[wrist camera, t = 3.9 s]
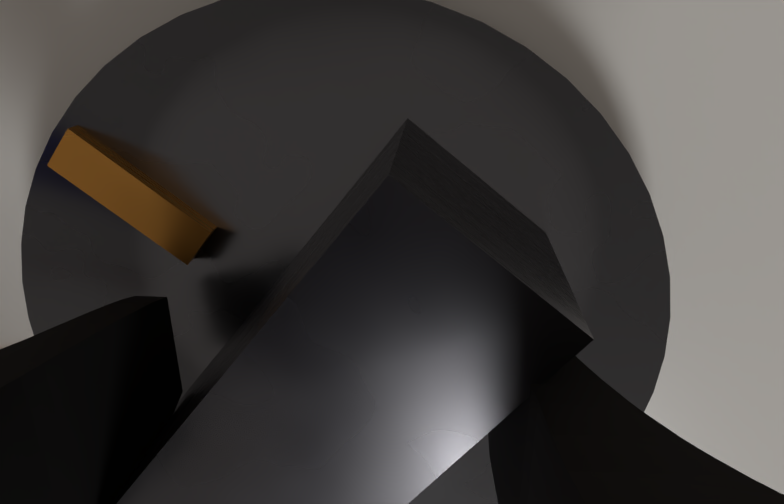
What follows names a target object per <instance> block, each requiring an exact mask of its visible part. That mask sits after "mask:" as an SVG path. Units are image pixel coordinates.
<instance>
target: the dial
mask: <svg viewBox="0 0 784 504" xmlns="http://www.w3.org/2000/svg"><path fill="white" fill-rule="evenodd" d="M21 260H22V284H23V290H24V295H25V301H26V307H27V313H28V318H29V322H30V325H31V328H32V331H33V334H34V335H36V334H39V333H41V332H43V331H46V330H48V329H50V328H53V327H55V326H57V325H60V324H62V323H64V322H67V321H69V320H71V319H74V318H76V317H79V316H81V315H83V314H86V313H88V312H90V311H93V310H95V309H98V308H100V307H103V306H105V305H108V304H111V303H113V302H116V301H119V300H122V299H125V298H129V297H132V296H156V297H167V299H168V305H169V311H170V317H171V323H172V329H173V335H174V341H175V347H176V353H177V359H178V365H179V372H180V378H181V384H182V390H183V392H182V394H181V397H180V399H179V401H178V404H177V406H176V409H175V411H174V413H173V415H172V416H171V418H170V419H169V421H168V422H167V424H166V425H165V427H164V428H163V430H162V431H161V433H160V434H159V436H158V437H157V439H156V440H155V442H154V443H153V445H152V446H151V447H150V449H149V450H148V452H147V453H146V455H145V456H144V458H143V459H142V461H141V462H140V464H139V465H138V466H137V468H136V469H135V471H134V472H133V474H132V475H131V477H130V478H129V480H128V481H127V482H126V484H125V485H124V487H123V488H122V490H121V491H120V493H119V494H118V496H117V497H116V499H115V500H114V501H113V503H112V504H498V500H497V495H496V489H495V484H494V478H493V473H492V467H491V462H490V456H489V441H488V433H489V432H490V431H491V430H492V429H493V428H494V427H496V426H497V425H498V424H499V423H500V422H501V421H502V420H503V419H505V418H506V417H507V416H508V415H509V414H510V413H511V412H513V411H514V410H515V409H516V408H517V407H518V406H519V405H520V404H522V403H523V402H524V401H525V400H526V399H527V398H528V397H529V396H530V387H531V384H544V383H545V382H546V381H548V380H549V379H550V378H551V377H552V376H553V375H554V374H556V373H557V372H558V371H559V370H560V369H561V368H562V367H563V366H565V365H566V364H567V363H568V362H569V361H570V360H571V359H573V358H574V357H575V356H576V357H577V358H578V359H579V360H581V361H582V362H583V363H584V364H585V365H586V366H587V367H588V368H589V369H591V370H592V371H593V372H594V373H595V374H596V375H597V376H599V377H600V378H601V379H602V380H603V381H604V382H606V383H607V384H608V385H609V386H611V387H612V388H613V389H614V390H616V391H617V392H618V393H619V394H621V395H622V396H623V397H624V398H626V399H627V400H628V401H629V402H631V403H632V404H633V405H635V406H636V407H637V408H639V409H640V410H641V411H643V412H644V411H645V409H646V407H647V405H648V403H649V401H650V399H651V397H652V395H653V392H654V389H655V386H656V383H657V380H658V376H659V373H660V370H661V367H662V363H663V360H664V357H665V351H666V344H667V337H668V330H669V324H670V274H669V267H668V261H667V255H666V249H665V243H664V237H663V233H662V230H661V227H660V224H659V221H658V218H657V215H656V212H655V209H654V206H653V203H652V200H651V197H650V194H649V192H648V190H647V188H646V186H645V184H644V182H643V180H642V178H641V176H640V174H639V172H638V170H637V168H636V166H635V164H634V162H633V160H632V158H631V156H630V154H629V152H628V151H627V150H626V148H625V147H624V145H623V144H622V143H621V141H620V140H619V138H618V137H617V136H616V134H615V133H614V131H613V130H612V129H611V127H610V126H609V124H608V123H607V122H606V120H605V119H604V117H603V116H602V115H601V113H600V112H599V111H598V110H597V109H596V108H595V107H594V106H593V105H592V104H591V103H590V102H589V101H588V100H587V99H586V98H585V97H584V96H583V95H582V94H581V93H580V92H579V91H578V90H577V89H576V87H575V86H574V85H573V84H572V83H571V82H570V81H569V80H568V79H567V78H566V77H564V76H563V75H562V74H560V73H559V72H558V71H557V70H555V69H554V68H553V67H551V66H550V65H549V64H548V63H546V62H545V61H544V60H542V59H541V58H540V57H539V56H537V55H536V54H535V53H533V52H532V51H531V50H529V49H528V48H527V47H525V46H524V45H522V44H520V43H518V42H516V41H515V40H513V39H511V38H509V37H508V36H506V35H504V34H502V33H501V32H499V31H497V30H495V29H494V28H492V27H490V26H488V25H487V24H485V23H483V22H481V21H479V20H476V19H474V18H471V17H469V16H466V15H464V14H461V13H459V12H456V11H453V10H451V9H448V8H446V7H443V6H441V5H438V4H436V3H433V2H430V1H426V0H220V1H217V2H214V3H211V4H209V5H206V6H203V7H201V8H198V9H195V10H193V11H190V12H187V13H184V14H182V15H180V16H178V17H176V18H174V19H172V20H171V21H169V22H167V23H165V24H163V25H162V26H160V27H158V28H156V29H154V30H153V31H151V32H149V33H147V34H146V35H144V36H142V37H140V38H139V39H138V40H136V41H135V42H134V43H132V44H131V45H130V46H129V47H127V48H126V49H125V50H124V51H122V52H121V53H120V54H118V55H117V56H116V57H115V58H113V59H112V60H111V61H110V62H108V63H107V64H106V65H104V67H103V68H102V69H101V70H100V71H99V72H98V73H97V74H96V75H95V76H94V77H93V78H92V80H91V81H90V82H89V83H88V84H87V85H86V86H85V87H84V88H83V89H82V90H81V91H80V93H79V94H78V95H77V96H76V97H75V98H74V100H73V101H72V103H71V104H70V106H69V107H68V109H67V110H66V112H65V113H64V115H63V116H62V118H61V120H60V121H59V123H58V124H57V126H56V127H55V129H54V130H53V132H52V134H51V136H50V138H49V140H48V143H47V145H46V147H45V149H44V151H43V154H42V156H41V158H40V160H39V162H38V165H37V167H36V169H35V173H34V177H33V180H32V184H31V188H30V191H29V195H28V199H27V202H26V206H25V214H24V223H23V231H22V240H21Z"/></svg>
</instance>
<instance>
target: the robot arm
mask: <svg viewBox="0 0 784 504" xmlns="http://www.w3.org/2000/svg"><path fill="white" fill-rule="evenodd" d="M182 392H183V390H182V384H181V378H180V372H179V365H178V359H177V353H176V347H175V341H174V335H173V329H172V323H171V317H170V311H169V305H168V299H167V297H156V296H132V297H129V298H125V299H122V300H119V301H116V302H113V303H111V304H108V305H105V306H103V307H100V308H98V309H95V310H93V311H90V312H88V313H86V314H83V315H81V316H79V317H76V318H74V319H71V320H69V321H67V322H64V323H62V324H60V325H57V326H55V327H53V328H50V329H48V330H46V331H43V332H41V333H39V334H36V335H34V336H32V337H29V338H27V339H25V340H22V341H20V342H17V343H15V344H12V345H10V346H7V347H5V348H2V349H0V504H112V503H113V501H114V500H115V499H116V497H117V496H118V494H119V493H120V491H121V490H122V488H123V487H124V485H125V484H126V482H127V481H128V480H129V478H130V477H131V475H132V474H133V472H134V471H135V469H136V468H137V466H138V465H139V464H140V462H141V461H142V459H143V458H144V456H145V455H146V453H147V452H148V450H149V449H150V447H151V446H152V445H153V443H154V442H155V440H156V439H157V437H158V436H159V434H160V433H161V431H162V430H163V428H164V427H165V425H166V424H167V422H168V421H169V419H170V418H171V416H172V415H173V413H174V411H175V409H176V406H177V404H178V401H179V399H180V397H181V394H182ZM488 441H489V456H490V462H491V467H492V473H493V478H494V484H495V489H496V495H497V500H498V504H784V495H783V494H781V493H779V492H777V491H775V490H774V489H772V488H770V487H768V486H766V485H764V484H762V483H760V482H758V481H756V480H754V479H752V478H750V477H748V476H746V475H745V474H743V473H741V472H739V471H738V470H736V469H734V468H732V467H730V466H729V465H727V464H725V463H723V462H722V461H720V460H718V459H716V458H714V457H713V456H711V455H709V454H707V453H706V452H704V451H702V450H701V449H699V448H697V447H696V446H694V445H692V444H691V443H689V442H687V441H686V440H684V439H683V438H681V437H680V436H678V435H677V434H675V433H674V432H672V431H671V430H669V429H668V428H666V427H665V426H663V425H662V424H660V423H659V422H657V421H656V420H654V419H653V418H651V417H650V416H648V415H647V414H646V413H644V412H643V411H641V410H640V409H639V408H637V407H636V406H635V405H633V404H632V403H631V402H629V401H628V400H627V399H626V398H624V397H623V396H622V395H621V394H619V393H618V392H617V391H616V390H614V389H613V388H612V387H611V386H609V385H608V384H607V383H606V382H604V381H603V380H602V379H601V378H600V377H599V376H597V375H596V374H595V373H594V372H593V371H592V370H591V369H589V368H588V367H587V366H586V365H585V364H584V363H583V362H582V361H581V360H579V359H578V358H577V357H576V356H575V357H574V358H573V359H571V360H570V361H569V362H568V363H567V364H566V365H565V366H563V367H562V368H561V369H560V370H559V371H558V372H557V373H556V374H554V375H553V376H552V377H551V378H550V379H549V380H548V381H546V382H545V383H544V384H531V387H530V396H529V397H528V398H527V399H526V400H525V401H524V402H523V403H522V404H520V405H519V406H518V407H517V408H516V409H515V410H514V411H513V412H511V413H510V414H509V415H508V416H507V417H506V418H505V419H503V420H502V421H501V422H500V423H499V424H498V425H497V426H496V427H494V428H493V429H492V430H491V431H490V432H489V433H488Z"/></svg>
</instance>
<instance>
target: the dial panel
mask: <svg viewBox="0 0 784 504" xmlns="http://www.w3.org/2000/svg"><path fill="white" fill-rule="evenodd" d="M217 1H220V0H0V349H2V348H5V347H7V346H10V345H12V344H15V343H17V342H20V341H22V340H25V339H27V338H29V337H32V336H34V334H33V331H32V328H31V325H30V322H29V318H28V313H27V307H26V301H25V295H24V290H23V284H22V260H21V240H22V231H23V223H24V214H25V206H26V202H27V199H28V195H29V191H30V188H31V184H32V180H33V177H34V173H35V169H36V167H37V165H38V162H39V160H40V158H41V156H42V154H43V151H44V149H45V147H46V145H47V143H48V140H49V138H50V136H51V134H52V132H53V130H54V129H55V127H56V126H57V124H58V123H59V121H60V120H61V118H62V116H63V115H64V113H65V112H66V110H67V109H68V107H69V106H70V104H71V103H72V101H73V100H74V98H75V97H76V96H77V95H78V94H79V93H80V91H81V90H82V89H83V88H84V87H85V86H86V85H87V84H88V83H89V82H90V81H91V80H92V78H93V77H94V76H95V75H96V74H97V73H98V72H99V71H100V70H101V69H102V68H103V67H104V65H106V64H107V63H108V62H110V61H111V60H112V59H113V58H115V57H116V56H117V55H118V54H120V53H121V52H122V51H124V50H125V49H126V48H127V47H129V46H130V45H131V44H132V43H134V42H135V41H136V40H138V39H139V38H140V37H142V36H144V35H146V34H147V33H149V32H151V31H153V30H154V29H156V28H158V27H160V26H162V25H163V24H165V23H167V22H169V21H171V20H172V19H174V18H176V17H178V16H180V15H182V14H184V13H187V12H190V11H193V10H195V9H198V8H201V7H203V6H206V5H209V4H211V3H214V2H217ZM426 1H430V2H433V3H436V4H438V5H441V6H443V7H446V8H448V9H451V10H453V11H456V12H459V13H461V14H464V15H466V16H469V17H471V18H474V19H476V20H479V21H481V22H483V23H485V24H487V25H488V26H490V27H492V28H494V29H495V30H497V31H499V32H501V33H502V34H504V35H506V36H508V37H509V38H511V39H513V40H515V41H516V42H518V43H520V44H522V45H524V46H525V47H527V48H528V49H529V50H531V51H532V52H533V53H535V54H536V55H537V56H539V57H540V58H541V59H542V60H544V61H545V62H546V63H548V64H549V65H550V66H551V67H553V68H554V69H555V70H557V71H558V72H559V73H560V74H562V75H563V76H564V77H566V78H567V79H568V80H569V81H570V82H571V83H572V84H573V85H574V86H575V87H576V89H577V90H578V91H579V92H580V93H581V94H582V95H583V96H584V97H585V98H586V99H587V100H588V101H589V102H590V103H591V104H592V105H593V106H594V107H595V108H596V109H597V110H598V111H599V112H600V113H601V115H602V116H603V117H604V119H605V120H606V122H607V123H608V124H609V126H610V127H611V129H612V130H613V131H614V133H615V134H616V136H617V137H618V138H619V140H620V141H621V143H622V144H623V145H624V147H625V148H626V150H627V151H628V152H629V154H630V156H631V158H632V160H633V162H634V164H635V166H636V168H637V170H638V172H639V174H640V176H641V178H642V180H643V182H644V184H645V186H646V188H647V190H648V192H649V194H650V197H651V200H652V203H653V206H654V209H655V212H656V215H657V218H658V221H659V224H660V227H661V230H662V233H663V237H664V243H665V249H666V255H667V261H668V267H669V274H670V324H669V330H668V337H667V344H666V351H665V357H664V360H663V363H662V367H661V370H660V373H659V376H658V380H657V383H656V386H655V389H654V392H653V395H652V397H651V399H650V401H649V403H648V405H647V407H646V409H645V411H644V413H646V414H647V415H648V416H650V417H651V418H653V419H654V420H656V421H657V422H659V423H660V424H662V425H663V426H665V427H666V428H668V429H669V430H671V431H672V432H674V433H675V434H677V435H678V436H680V437H681V438H683V439H684V440H686V441H687V442H689V443H691V444H692V445H694V446H696V447H697V448H699V449H701V450H702V451H704V452H706V453H707V454H709V455H711V456H713V457H714V458H716V459H718V460H720V461H722V462H723V463H725V464H727V465H729V466H730V467H732V468H734V469H736V470H738V471H739V472H741V473H743V474H745V475H746V476H748V477H750V478H752V479H754V480H756V481H758V482H760V483H762V484H764V485H766V486H768V487H770V488H772V489H774V490H775V491H777V492H779V493H781V494H783V495H784V0H426Z"/></svg>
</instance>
